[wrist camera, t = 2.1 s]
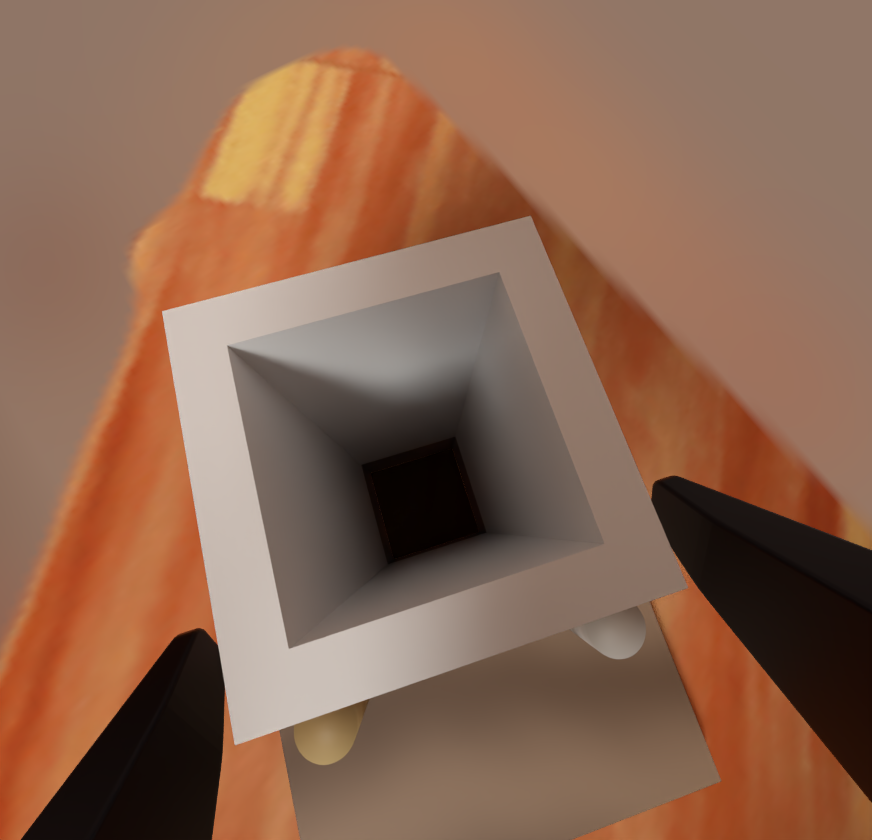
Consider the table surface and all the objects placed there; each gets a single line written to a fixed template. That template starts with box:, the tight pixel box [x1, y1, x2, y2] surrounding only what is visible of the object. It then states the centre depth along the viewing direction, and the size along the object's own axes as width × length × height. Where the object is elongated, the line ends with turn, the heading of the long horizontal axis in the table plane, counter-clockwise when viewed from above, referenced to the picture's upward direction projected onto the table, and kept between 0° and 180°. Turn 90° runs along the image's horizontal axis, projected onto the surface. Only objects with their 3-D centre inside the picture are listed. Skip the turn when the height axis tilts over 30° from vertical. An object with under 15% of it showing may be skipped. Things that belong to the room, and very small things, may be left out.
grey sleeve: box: [162, 216, 688, 745], centre depth 11 cm, size 5×5×13 cm
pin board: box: [279, 601, 721, 840], centre depth 14 cm, size 9×14×4 cm, turn 107°
